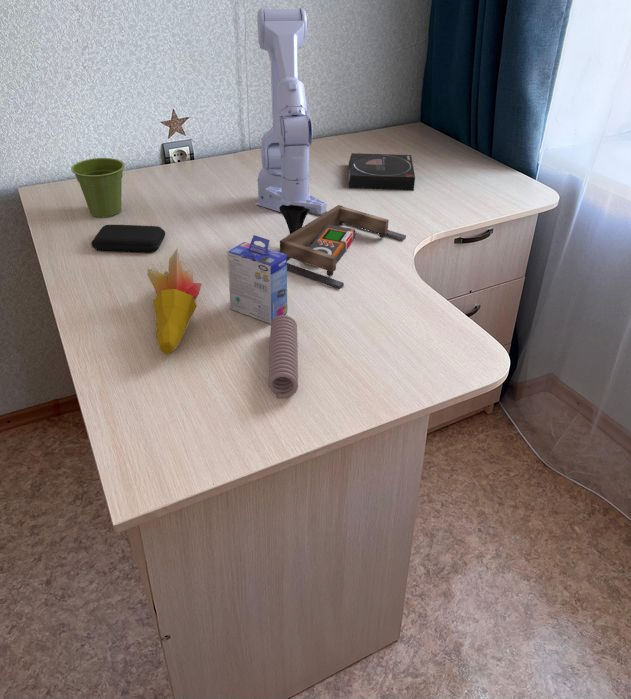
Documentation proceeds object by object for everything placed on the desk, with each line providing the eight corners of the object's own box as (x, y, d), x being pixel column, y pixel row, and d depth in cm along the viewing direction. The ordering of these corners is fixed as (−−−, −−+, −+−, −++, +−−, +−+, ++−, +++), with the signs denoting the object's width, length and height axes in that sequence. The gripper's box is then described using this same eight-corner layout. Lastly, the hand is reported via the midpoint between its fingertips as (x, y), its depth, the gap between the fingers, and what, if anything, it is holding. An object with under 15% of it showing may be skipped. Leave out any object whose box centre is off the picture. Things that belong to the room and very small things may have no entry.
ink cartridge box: (289, 311, 124) (288, 242, 116) (272, 325, 121) (270, 254, 112) (247, 296, 129) (243, 228, 120) (229, 309, 125) (224, 239, 116)
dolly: (279, 260, 140) (279, 240, 138) (338, 222, 155) (338, 204, 153) (332, 278, 134) (332, 258, 132) (387, 237, 149) (388, 219, 147)
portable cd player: (348, 167, 186) (349, 153, 184) (409, 169, 186) (411, 155, 183) (347, 190, 173) (348, 175, 171) (413, 192, 172) (415, 177, 170)
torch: (166, 379, 114) (172, 288, 132) (205, 360, 112) (206, 271, 130) (136, 349, 108) (146, 259, 127) (177, 329, 107) (181, 240, 125)
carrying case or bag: (169, 234, 151) (105, 231, 151) (167, 221, 149) (102, 219, 149) (158, 256, 142) (90, 253, 143) (156, 243, 140) (87, 240, 141)
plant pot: (138, 215, 158) (131, 169, 151) (88, 226, 153) (79, 179, 146) (122, 198, 166) (115, 153, 159) (74, 208, 161) (64, 162, 154)
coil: (269, 313, 116) (266, 377, 102) (295, 311, 116) (296, 375, 102) (272, 335, 119) (270, 400, 104) (298, 333, 119) (299, 398, 104)
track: (237, 253, 143) (237, 249, 143) (311, 209, 161) (311, 206, 161) (339, 289, 131) (339, 286, 131) (405, 238, 150) (406, 235, 149)
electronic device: (302, 254, 138) (328, 222, 149) (302, 266, 140) (328, 233, 151) (332, 260, 136) (356, 227, 147) (332, 272, 138) (356, 239, 149)
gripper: (255, 173, 137) (257, 233, 145) (313, 189, 130) (312, 251, 138) (276, 163, 142) (277, 222, 150) (332, 178, 135) (331, 239, 143)
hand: (295, 235), depth 144 cm, fingers closed
